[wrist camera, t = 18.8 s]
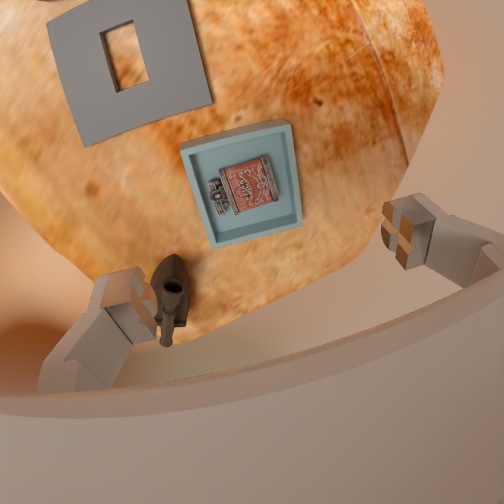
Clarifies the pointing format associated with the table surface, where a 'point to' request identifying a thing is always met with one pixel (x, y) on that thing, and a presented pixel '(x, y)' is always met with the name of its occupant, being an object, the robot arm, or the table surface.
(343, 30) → the table surface
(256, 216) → the parts tray
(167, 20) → the gray plate with hole
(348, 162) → the table surface
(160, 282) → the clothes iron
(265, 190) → the lighter
